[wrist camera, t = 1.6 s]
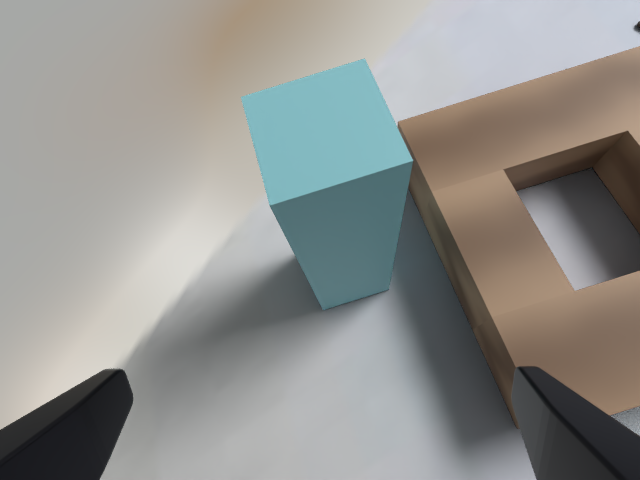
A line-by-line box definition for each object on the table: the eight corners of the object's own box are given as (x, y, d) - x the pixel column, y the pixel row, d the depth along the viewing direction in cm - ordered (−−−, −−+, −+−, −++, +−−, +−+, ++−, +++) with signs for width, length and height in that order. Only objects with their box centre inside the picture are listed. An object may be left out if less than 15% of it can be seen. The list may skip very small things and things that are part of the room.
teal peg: (388, 289, 22) (413, 160, 10) (323, 310, 22) (269, 205, 10) (366, 230, 24) (364, 58, 12) (305, 249, 24) (240, 96, 12)
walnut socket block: (806, 336, 19) (898, 324, 15) (517, 428, 19) (548, 434, 15) (606, 90, 25) (641, 45, 22) (394, 156, 25) (398, 121, 22)
